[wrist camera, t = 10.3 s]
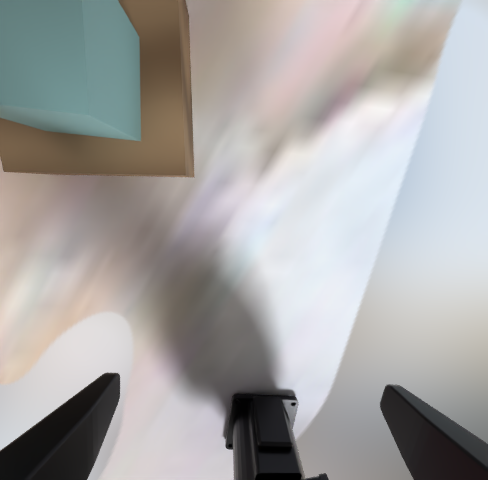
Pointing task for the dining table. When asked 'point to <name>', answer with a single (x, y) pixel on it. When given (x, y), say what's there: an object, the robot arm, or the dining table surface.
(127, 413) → the dining table surface
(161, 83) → the walnut block
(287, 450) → the robot arm
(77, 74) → the teal cube
